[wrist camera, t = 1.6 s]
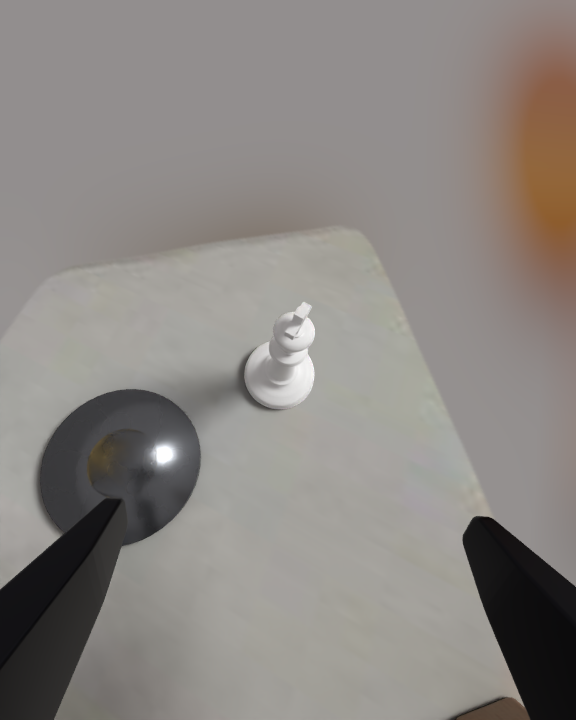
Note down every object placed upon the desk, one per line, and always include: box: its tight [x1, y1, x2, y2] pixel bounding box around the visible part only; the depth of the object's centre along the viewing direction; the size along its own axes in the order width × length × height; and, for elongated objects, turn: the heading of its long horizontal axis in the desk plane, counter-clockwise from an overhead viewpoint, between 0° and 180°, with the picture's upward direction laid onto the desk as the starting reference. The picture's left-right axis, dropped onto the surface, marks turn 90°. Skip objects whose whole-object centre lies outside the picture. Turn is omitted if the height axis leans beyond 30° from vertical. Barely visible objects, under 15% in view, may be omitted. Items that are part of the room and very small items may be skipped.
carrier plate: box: [40, 389, 201, 546], centre depth 20 cm, size 9×9×1 cm
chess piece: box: [244, 302, 315, 409], centre depth 18 cm, size 5×5×10 cm
